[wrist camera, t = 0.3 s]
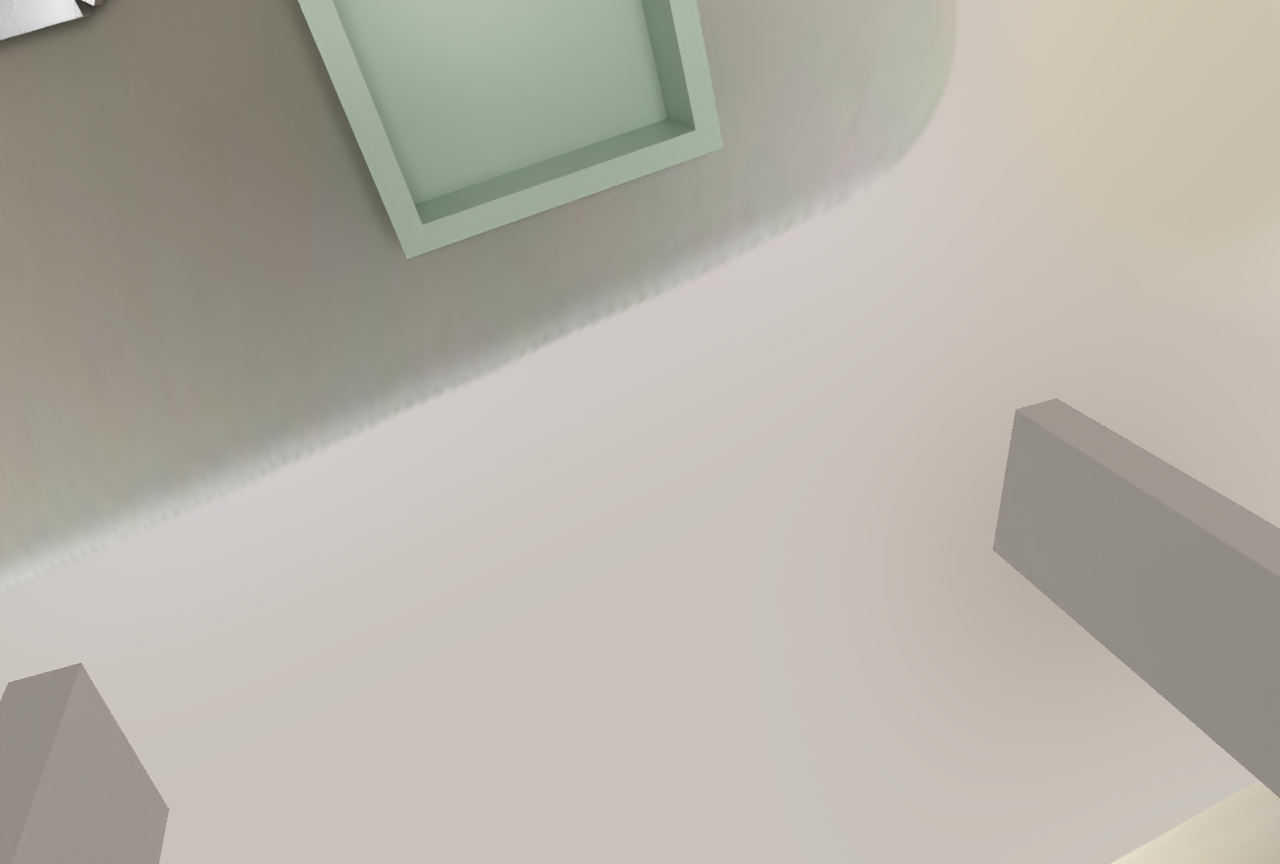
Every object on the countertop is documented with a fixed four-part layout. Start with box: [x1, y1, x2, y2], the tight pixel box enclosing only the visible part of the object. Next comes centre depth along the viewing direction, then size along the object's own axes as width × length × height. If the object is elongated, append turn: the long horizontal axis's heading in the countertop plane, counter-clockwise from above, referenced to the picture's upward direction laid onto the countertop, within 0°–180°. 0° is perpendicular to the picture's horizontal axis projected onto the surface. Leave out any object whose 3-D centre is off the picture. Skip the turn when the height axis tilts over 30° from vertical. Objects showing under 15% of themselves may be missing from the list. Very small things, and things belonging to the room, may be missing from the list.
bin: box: [298, 0, 724, 259], centre depth 30 cm, size 13×13×4 cm
